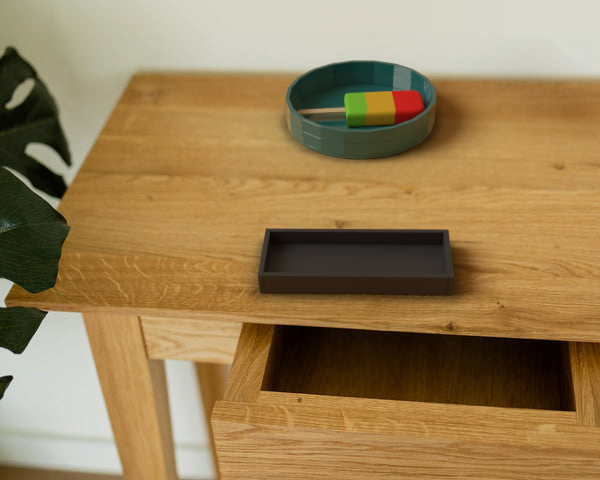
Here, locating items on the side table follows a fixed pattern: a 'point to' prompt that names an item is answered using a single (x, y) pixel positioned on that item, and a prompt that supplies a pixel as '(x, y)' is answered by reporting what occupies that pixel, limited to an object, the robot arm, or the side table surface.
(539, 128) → the side table surface
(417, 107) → the popsicle
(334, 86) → the bowl
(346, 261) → the tray
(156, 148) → the side table surface
